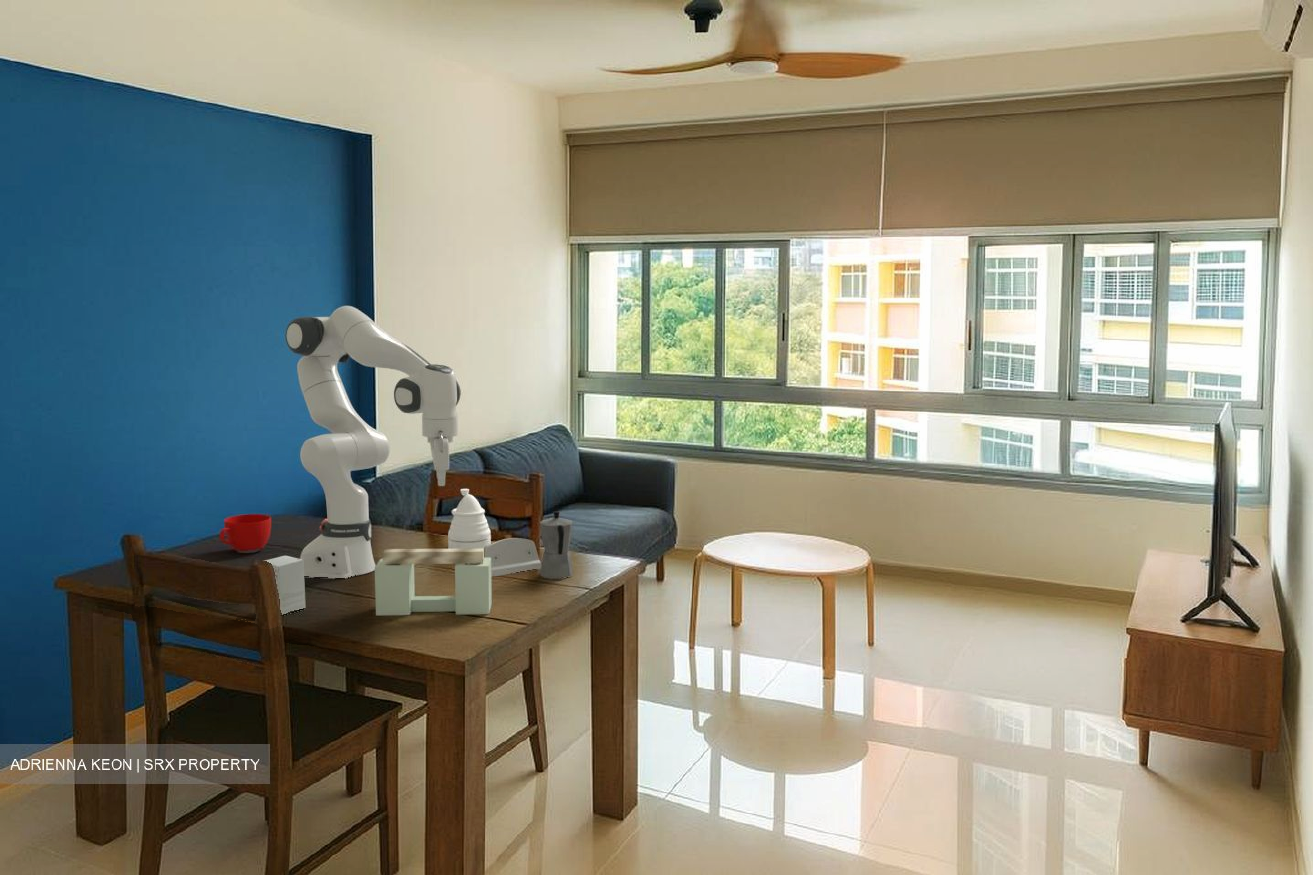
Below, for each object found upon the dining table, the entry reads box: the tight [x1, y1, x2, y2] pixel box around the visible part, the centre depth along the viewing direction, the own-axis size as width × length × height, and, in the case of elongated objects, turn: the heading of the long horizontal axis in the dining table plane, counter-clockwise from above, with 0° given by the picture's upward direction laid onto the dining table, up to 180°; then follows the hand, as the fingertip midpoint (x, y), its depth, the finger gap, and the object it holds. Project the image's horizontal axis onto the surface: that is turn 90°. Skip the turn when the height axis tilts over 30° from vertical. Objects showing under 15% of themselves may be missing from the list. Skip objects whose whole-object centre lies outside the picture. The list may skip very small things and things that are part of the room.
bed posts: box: [374, 558, 493, 616], centre depth 248 cm, size 27×8×12 cm, turn 95°
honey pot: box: [447, 488, 492, 549], centre depth 308 cm, size 13×13×18 cm
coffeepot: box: [539, 510, 574, 580], centre depth 279 cm, size 15×9×18 cm, turn 15°
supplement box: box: [264, 555, 307, 615], centre depth 246 cm, size 7×7×13 cm
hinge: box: [484, 537, 542, 578], centre depth 285 cm, size 17×5×10 cm, turn 124°
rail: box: [382, 548, 484, 565], centre depth 247 cm, size 24×3×6 cm, turn 95°
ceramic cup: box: [219, 513, 272, 551], centre depth 299 cm, size 13×17×10 cm
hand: (440, 482), depth 260 cm, fingers open, 8 cm apart
